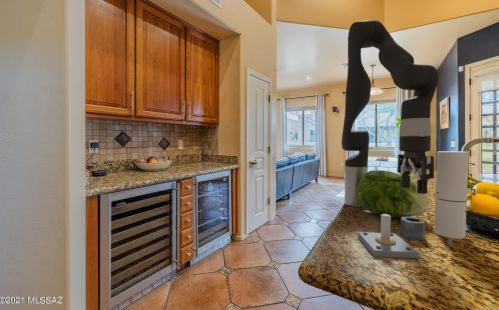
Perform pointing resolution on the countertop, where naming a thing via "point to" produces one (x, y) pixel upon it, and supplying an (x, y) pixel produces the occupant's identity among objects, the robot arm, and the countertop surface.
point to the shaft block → (387, 242)
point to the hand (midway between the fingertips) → (413, 190)
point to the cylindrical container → (451, 194)
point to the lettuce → (390, 195)
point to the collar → (412, 228)
